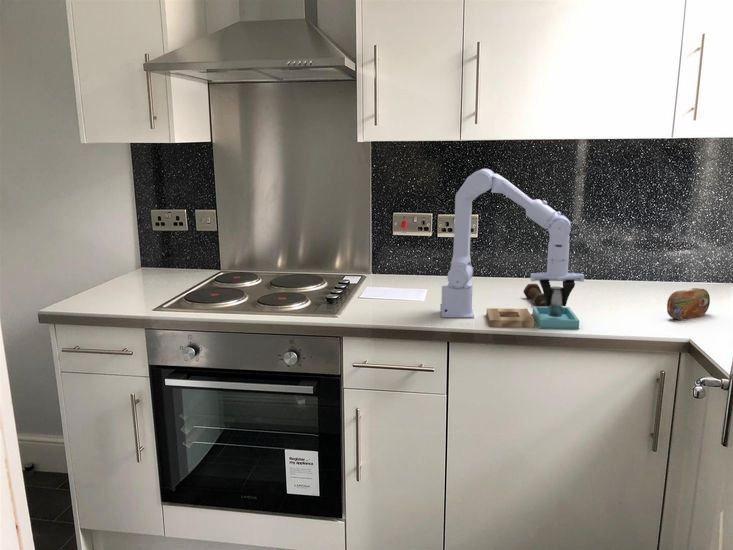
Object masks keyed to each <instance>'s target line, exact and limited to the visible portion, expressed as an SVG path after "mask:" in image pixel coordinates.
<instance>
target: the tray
mask: <svg viewBox="0 0 733 550" xmlns="http://www.w3.org/2000/svg"><path fill="white" fill-rule="evenodd" d="M531 316H532V317H533V316H534V317H533V318H534V320H535V322H536V324H537V326H538V328H539V329H540V330H542V329H546V330H548V329H551V330H555V329H556V330H579V329H580V320H579V318H578V316H576V314H575V313H574V311H573V310H572V309H571V308H570V306H563V312H562V316H561V317H552V316H549V315H548V307H536V306H532V314H531Z"/></svg>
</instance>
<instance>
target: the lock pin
mask: <svg viewBox="0 0 733 550" xmlns="http://www.w3.org/2000/svg"><path fill="white" fill-rule="evenodd" d="M563 295H564V288H563V286H551V287H550V295H549V299H550V303H549V306H548V315H549V316H552V317H561V316H562V312H563V307H564V306H563Z"/></svg>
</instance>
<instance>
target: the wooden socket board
mask: <svg viewBox="0 0 733 550" xmlns="http://www.w3.org/2000/svg"><path fill="white" fill-rule="evenodd" d="M486 318H487V322H488V325H489V328H528V327H529V328H531V329H532V328H534V319H533V316H532V314H531V313H530V312H529V309H528V308H495V307H494V308H490V307H489V308H488V307H487V308H486Z"/></svg>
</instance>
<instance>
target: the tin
mask: <svg viewBox="0 0 733 550" xmlns="http://www.w3.org/2000/svg"><path fill="white" fill-rule="evenodd" d="M710 302H711V298H710V293H709V292H708V291H707V290H706V289H705V288H698V287H692V288H687V289H683V290H677V291H674V292H672V293H671V294H670V296H669V297H668V299H667V304H666V311H667V315H668V316H669V317H671V318H672V319H675V320H679V321H684V320H685V319H686V320H690V319H694V318H699V317H703V316H704V315H705V314H706V313H707V311H708V310H709V307H710V304H711V303H710ZM686 320H685V321H686Z"/></svg>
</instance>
